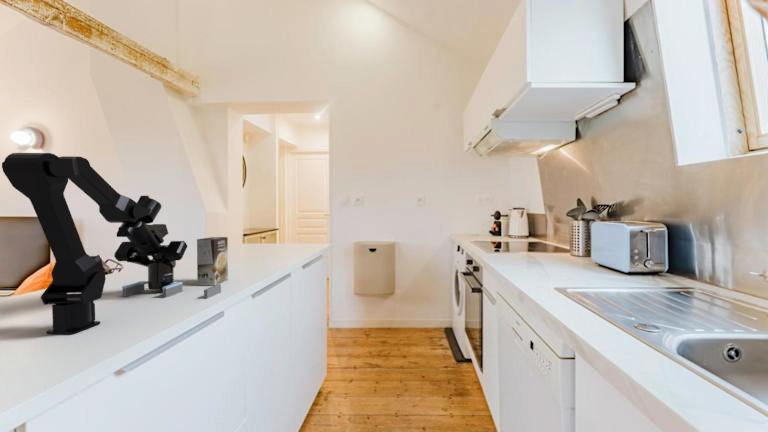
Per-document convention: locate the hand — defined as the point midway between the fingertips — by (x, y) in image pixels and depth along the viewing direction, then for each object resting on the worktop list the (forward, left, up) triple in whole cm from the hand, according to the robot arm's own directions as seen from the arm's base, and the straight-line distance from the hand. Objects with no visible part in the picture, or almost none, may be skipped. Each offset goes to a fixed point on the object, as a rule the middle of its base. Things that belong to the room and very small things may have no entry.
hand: (163, 266), depth 106 cm
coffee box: (+11, -10, -8) cm, 17 cm away
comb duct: (-5, -7, -8) cm, 11 cm away
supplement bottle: (-1, 0, -7) cm, 7 cm away
